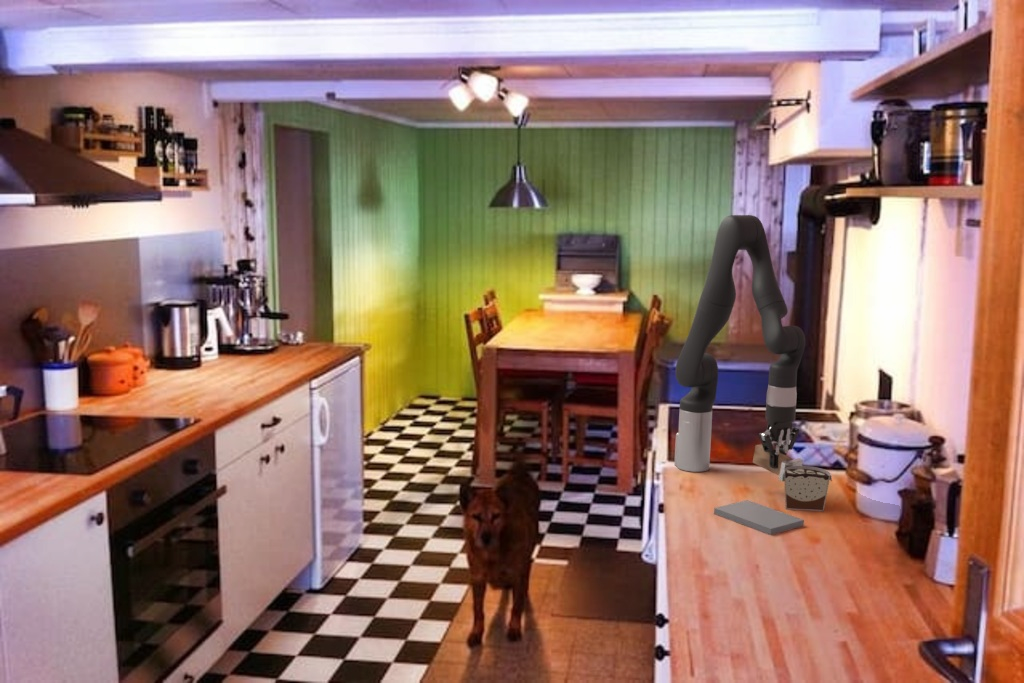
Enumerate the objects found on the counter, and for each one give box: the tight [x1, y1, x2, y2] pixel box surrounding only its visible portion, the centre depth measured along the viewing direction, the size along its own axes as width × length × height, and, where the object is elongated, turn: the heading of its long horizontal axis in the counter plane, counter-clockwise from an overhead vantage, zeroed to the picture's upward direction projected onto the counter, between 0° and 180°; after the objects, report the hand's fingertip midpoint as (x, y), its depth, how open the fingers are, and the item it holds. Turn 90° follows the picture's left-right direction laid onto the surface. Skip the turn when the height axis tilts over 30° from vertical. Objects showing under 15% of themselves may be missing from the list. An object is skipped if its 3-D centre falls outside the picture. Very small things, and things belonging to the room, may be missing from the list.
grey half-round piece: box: [782, 465, 833, 512], centre depth 263 cm, size 12×6×10 cm, turn 84°
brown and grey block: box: [752, 443, 804, 483], centre depth 271 cm, size 12×7×5 cm, turn 36°
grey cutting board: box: [713, 499, 805, 536], centre depth 253 cm, size 18×12×2 cm, turn 36°
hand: (777, 466), depth 270 cm, fingers closed on brown and grey block
